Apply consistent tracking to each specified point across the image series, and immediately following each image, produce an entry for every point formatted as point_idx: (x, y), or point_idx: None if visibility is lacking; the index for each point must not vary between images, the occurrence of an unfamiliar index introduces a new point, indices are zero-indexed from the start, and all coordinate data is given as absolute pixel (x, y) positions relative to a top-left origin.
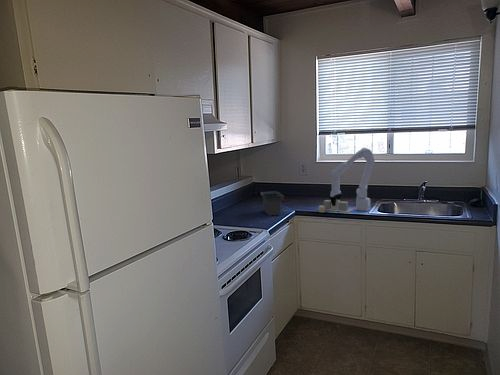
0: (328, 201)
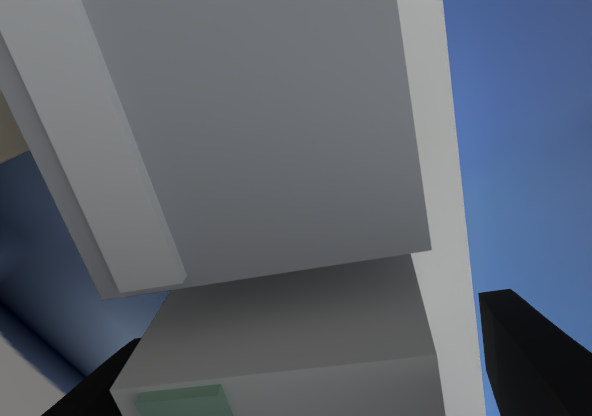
0: (98, 222)
